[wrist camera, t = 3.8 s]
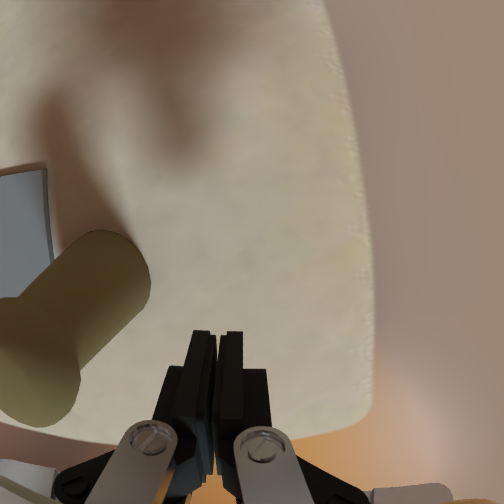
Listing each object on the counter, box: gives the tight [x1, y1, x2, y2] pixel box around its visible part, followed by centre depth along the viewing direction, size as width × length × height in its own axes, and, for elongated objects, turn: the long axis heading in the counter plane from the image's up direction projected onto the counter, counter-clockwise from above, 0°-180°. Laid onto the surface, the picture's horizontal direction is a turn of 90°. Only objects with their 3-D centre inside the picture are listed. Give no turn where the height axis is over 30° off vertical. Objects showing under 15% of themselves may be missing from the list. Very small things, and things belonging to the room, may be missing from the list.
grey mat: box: [0, 169, 54, 298], centre depth 16 cm, size 14×12×1 cm
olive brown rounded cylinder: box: [0, 230, 151, 427], centre depth 12 cm, size 6×6×11 cm
